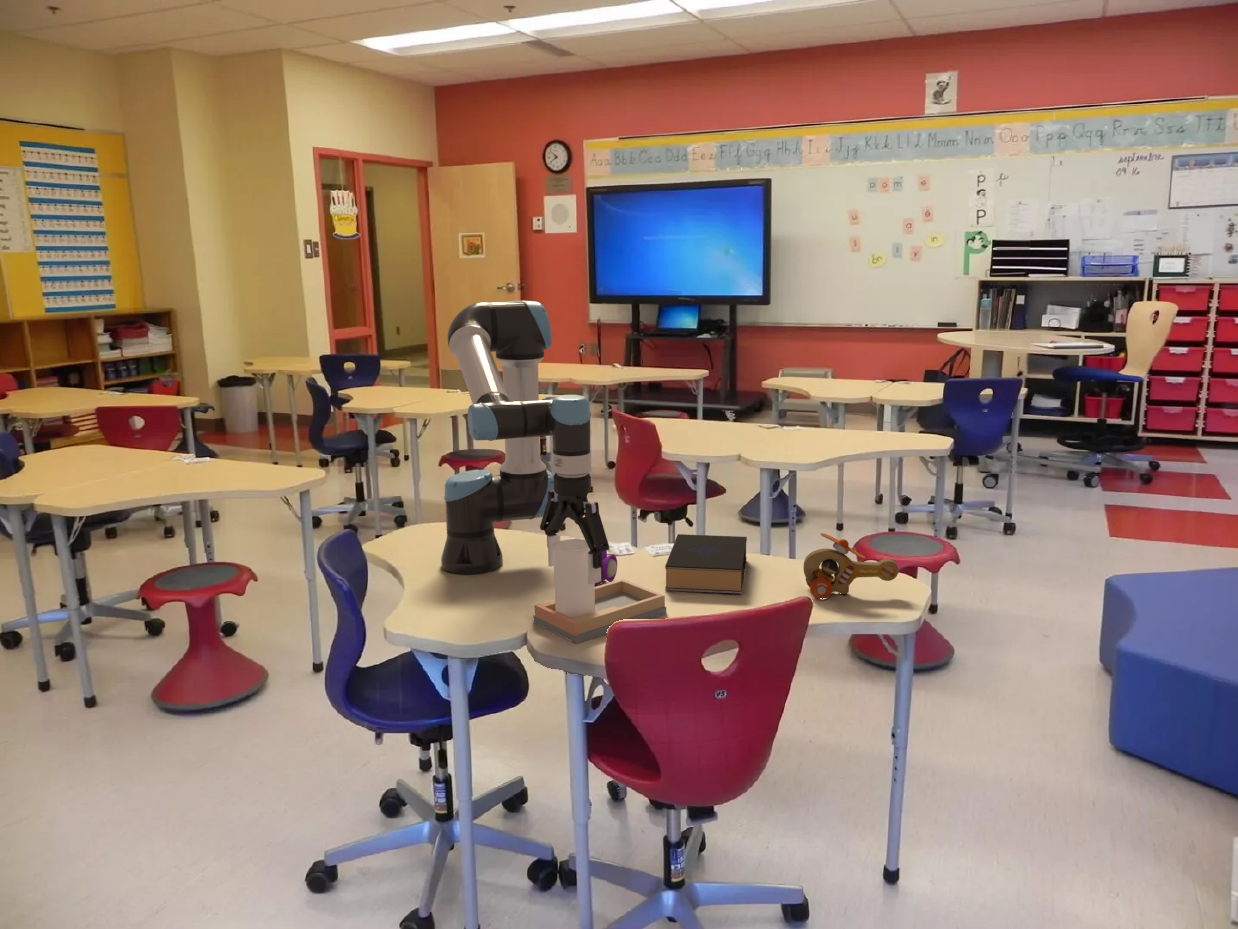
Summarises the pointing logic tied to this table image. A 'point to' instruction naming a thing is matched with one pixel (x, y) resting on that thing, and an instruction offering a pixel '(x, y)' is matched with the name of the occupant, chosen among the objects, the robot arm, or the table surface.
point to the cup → (572, 579)
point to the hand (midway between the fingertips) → (574, 573)
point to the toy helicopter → (841, 569)
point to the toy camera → (607, 567)
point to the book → (706, 564)
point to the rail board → (603, 611)
